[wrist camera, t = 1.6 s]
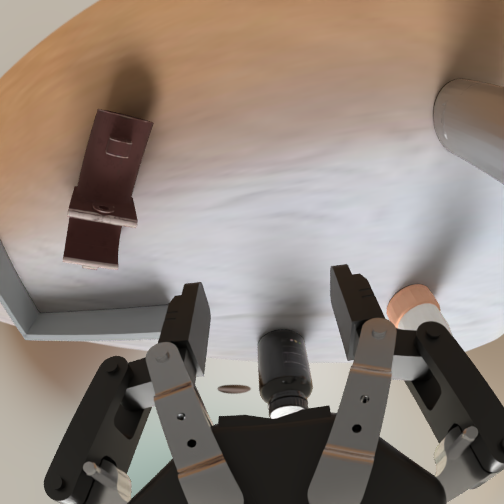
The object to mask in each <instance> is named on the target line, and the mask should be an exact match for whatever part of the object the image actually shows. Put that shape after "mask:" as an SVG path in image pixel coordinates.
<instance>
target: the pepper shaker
mask: <svg viewBox="0 0 504 504" xmlns="http://www.w3.org/2000/svg"><path fill="white" fill-rule="evenodd" d="M387 315H388V317H389V320H390V321H391V322H392V323H393V324H394V325H395V327H396V328H398V329H402V330H416V331H417V328H418V327H419V326H420V325H421V324H422V323H424V322H428V321H434V322H438V323H440V324H442V325H443V326H445V327H446V329H447V330H448V331H449V332H450V334H451V335H452V333H451V330H450V327H449V325H448V323H447V322H446V320H445V318H444V317H443V315H442V314H441V312H440V306H439V304H438V302H437V301H436V299H435V297H434V296H433V294H432V293H431V291H430V290H429V289H428V288H427V286H424V285H422V284H414V285H410V286H407V287H405V288H403V289H402V290H400V291H399V292H398V293H396V294H395V295H394V296H393V298H392V299H391V300H390V302H389V304H388V307H387Z"/></svg>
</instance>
